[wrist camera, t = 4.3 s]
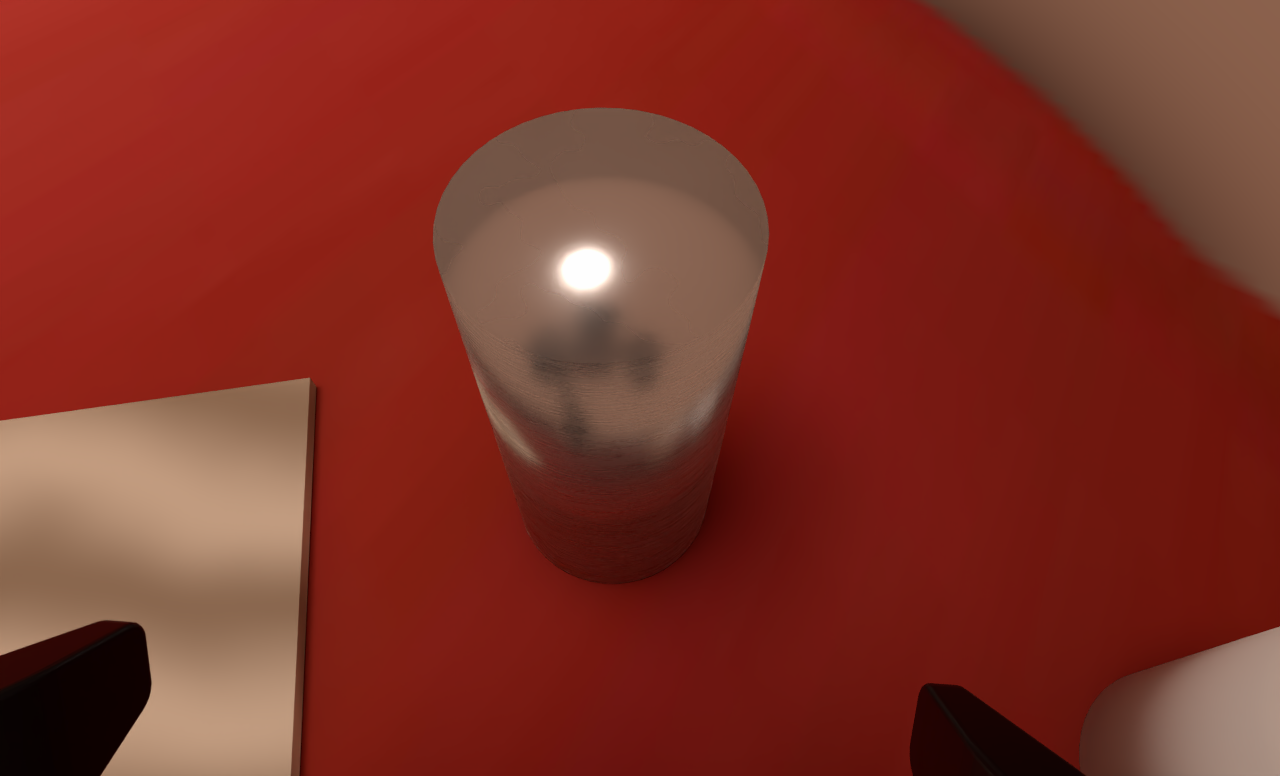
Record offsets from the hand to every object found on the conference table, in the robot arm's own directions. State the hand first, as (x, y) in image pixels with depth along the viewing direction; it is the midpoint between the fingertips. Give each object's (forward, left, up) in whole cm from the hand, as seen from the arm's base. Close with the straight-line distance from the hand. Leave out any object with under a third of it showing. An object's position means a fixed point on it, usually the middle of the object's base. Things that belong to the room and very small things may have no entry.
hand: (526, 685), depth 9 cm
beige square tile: (+7, +14, -14) cm, 21 cm away
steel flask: (+8, -2, -14) cm, 16 cm away
